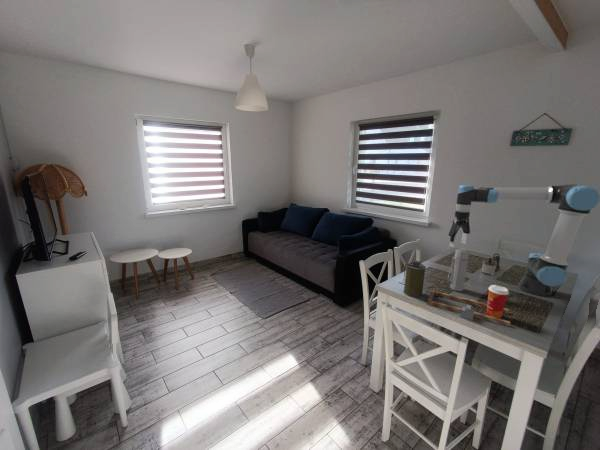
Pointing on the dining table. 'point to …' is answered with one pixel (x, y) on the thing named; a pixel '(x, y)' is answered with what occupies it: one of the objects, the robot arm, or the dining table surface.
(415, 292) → the canister
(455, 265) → the water bottle
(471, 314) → the block
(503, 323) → the brown piece
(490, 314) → the coffee cup
